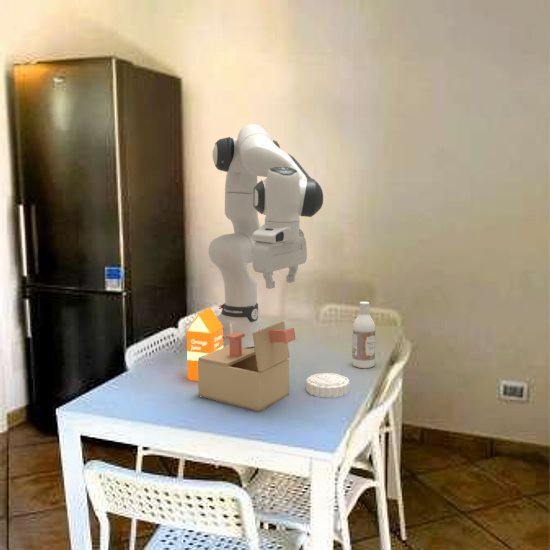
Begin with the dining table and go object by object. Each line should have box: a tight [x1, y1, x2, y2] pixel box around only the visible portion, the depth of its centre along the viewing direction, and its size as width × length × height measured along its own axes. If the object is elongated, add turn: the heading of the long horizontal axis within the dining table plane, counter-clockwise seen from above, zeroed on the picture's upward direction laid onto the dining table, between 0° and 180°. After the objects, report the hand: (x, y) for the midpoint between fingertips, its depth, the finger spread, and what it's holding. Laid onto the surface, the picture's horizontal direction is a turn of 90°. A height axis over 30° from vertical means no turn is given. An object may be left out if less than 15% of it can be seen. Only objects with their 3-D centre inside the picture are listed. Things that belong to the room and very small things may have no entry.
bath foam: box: [351, 301, 376, 369], centre depth 189 cm, size 7×7×20 cm
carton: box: [197, 354, 290, 413], centre depth 165 cm, size 20×14×10 cm
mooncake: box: [305, 372, 351, 399], centre depth 169 cm, size 12×12×4 cm
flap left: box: [198, 332, 255, 367], centre depth 166 cm, size 10×14×7 cm
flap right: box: [252, 321, 297, 371], centre depth 156 cm, size 10×14×7 cm
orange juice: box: [186, 307, 223, 382], centre depth 180 cm, size 8×9×20 cm
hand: (280, 285), depth 158 cm, fingers open, 8 cm apart
